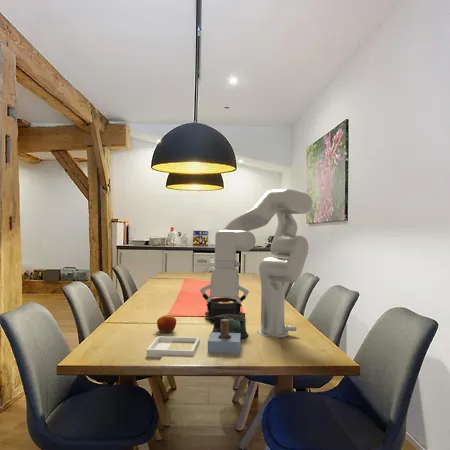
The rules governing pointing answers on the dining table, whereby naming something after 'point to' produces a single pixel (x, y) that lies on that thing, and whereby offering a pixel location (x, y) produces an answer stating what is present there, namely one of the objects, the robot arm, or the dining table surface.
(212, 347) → the holder
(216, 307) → the casserole
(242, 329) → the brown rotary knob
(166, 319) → the fruit
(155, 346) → the tray
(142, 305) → the dining table surface
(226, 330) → the pin
